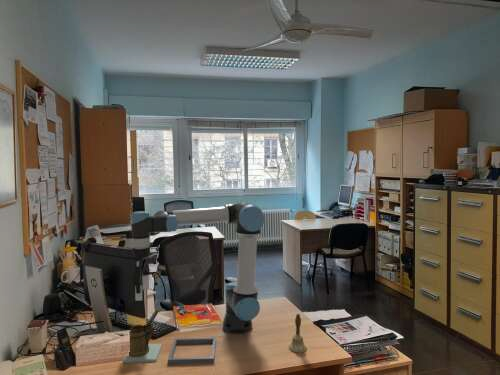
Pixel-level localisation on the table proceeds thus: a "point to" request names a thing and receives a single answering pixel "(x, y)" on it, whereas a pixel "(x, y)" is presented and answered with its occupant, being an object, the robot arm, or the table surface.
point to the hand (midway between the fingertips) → (142, 294)
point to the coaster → (146, 355)
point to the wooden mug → (141, 338)
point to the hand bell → (297, 338)
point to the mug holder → (192, 360)
